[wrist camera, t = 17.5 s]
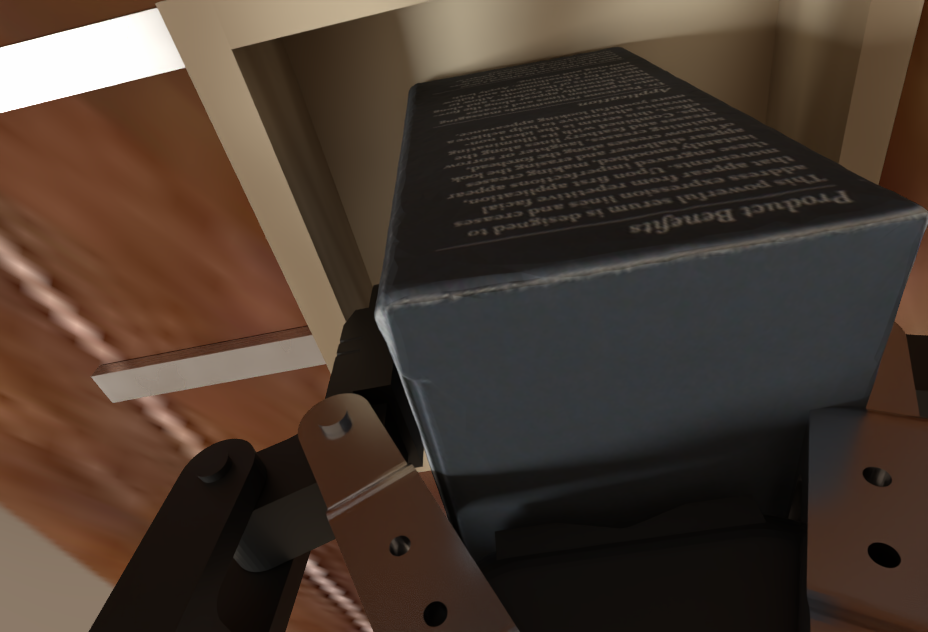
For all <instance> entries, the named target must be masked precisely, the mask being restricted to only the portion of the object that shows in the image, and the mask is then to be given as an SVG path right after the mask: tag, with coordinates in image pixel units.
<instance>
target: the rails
mask: <svg viewBox="0 0 928 632" xmlns="http://www.w3.org/2000/svg"><path fill="white" fill-rule="evenodd" d="M181 68H185V65H184V63H183V61H182V59H181V57H180V54H179V52H178V50H177V48H176V46H175V44H174V42H173V40H172V38H171V35H170V33H169V31H168V29H167V27H166V25H165V23H164V21H163V19H162V16H161V14H160V12H159V10H158V8H157V7H156V8H152V9H149V10H145V11H141V12H137V13H133V14H129V15H125V16H121V17H117V18H114V19H110V20H106V21H102V22H98V23H94V24H90V25H86V26H82V27H78V28H75V29H71V30H67V31H63V32H59V33H55V34H51V35H47V36H43V37H40V38H36V39H32V40H28V41H24V42H20V43H16V44H12V45H8V46H4V47H1V48H0V113H1V112H5V111H9V110H13V109H17V108H21V107H25V106H29V105H34V104H38V103H42V102H46V101H50V100H54V99H58V98H62V97H66V96H70V95H75V94H79V93H83V92H87V91H91V90H95V89H99V88H103V87H107V86H111V85H116V84H120V83H124V82H128V81H132V80H136V79H140V78H144V77H148V76H152V75H157V74H161V73H165V72H169V71H173V70H177V69H181ZM323 364H326V363H325V360H324V358H323V356H322V354H321V352H320V350H319V348H318V346H317V344H316V341H315V339H314V337H313V335H312V333H311V331H310V329H309V327H308V326H306V327H301V328H295V329H290V330H285V331H280V332H274V333H269V334H264V335H259V336H253V337H248V338H243V339H238V340H232V341H227V342H222V343H217V344H211V345H206V346H201V347H196V348H190V349H185V350H180V351H174V352H169V353H164V354H159V355H153V356H148V357H143V358H138V359H132V360H127V361H122V362H117V363H111V364H106V365H101V366H99V367H98V368H97V369H96V371H95V372H94V373H93V375H92V376H91V377H92V379H93V380H94V381H95V382H96V383H97V385H98V386H99V387H100V388H101V389H102V391H103V392H104V393H105V394H106V396H107V397H108V398H109V399H110V400H111V402H112V403H115V402H120V401H125V400H131V399H136V398H142V397H147V396H153V395H158V394H164V393H169V392H175V391H180V390H186V389H191V388H197V387H202V386H208V385H213V384H219V383H224V382H229V381H235V380H240V379H246V378H251V377H257V376H262V375H268V374H273V373H279V372H284V371H290V370H295V369H301V368H306V367H312V366H317V365H323Z"/></svg>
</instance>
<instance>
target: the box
mask: <svg viewBox="0 0 928 632" xmlns="http://www.w3.org/2000/svg"><path fill="white" fill-rule="evenodd" d="M404 122H405V123H404V131H403V139H402V144H401V152H400V156H399V162H398V168H397V178H396V184H395V190H394V197H393V201H392V210H391V216H390V222H389V228H388V234H387V241H386V248H385V257H384V260H383V268H382V273H381V278H380V282H379V289H378V295H377V301H376V306H375V311H374V318H375V321H376V323H377V326H378V328H379V330H380V332H381V334H382V336H383V338H384V339H385V341H386V343H387V346H388V348H389V351H390V354H391V356H392V359H393V361H394V363H395V366H396V368H397V371H398V373H399V376H400V380H401V383H402V385H403V388H404V391H405V393H406V396H407V399H408V401H409V404H410V407H411V410H412V413H413V416H414V418H415V421H416V424H417V426H418V429H419V433H420V436H421V440H422V444H423V447H424V450H425V453H426V456H427V459H428V463H429V465H430V468H431V471H432V474H433V477H434V479H435V482H436V485H437V488H438V491H439V494H440V497H441V499H442V502H443V505H444V508H445V511H446V514H447V518H448V520H449V522H450V523H451V525H452V527H453V528H454V530H455V531H456V533H457V534H458V536H459V538H460V539H461V541H462V542H463V544H464V545H465V547H466V549H467V550H468V552H469V553H470V555H471V556H472V558H473V559H474V561H477V560H479V559H480V558H482V557H484V556H486V555H488V554H490V553H492V552H495V551H496V544H495V531H501V530H508V529H515V528H521V527H528V526H535V525H542V524H549V523H566V524H577V525H588V526H598V527H609V528H627V527H630V526H633V525H635V524H638V523H640V522H643V521H645V520H648V519H650V518H652V517H655V516H657V515H660V514H662V513H665V512H667V511H670V510H672V509H674V508H677V507H679V506H682V505H684V504H687V503H694V502H701V501H708V500H715V499H722V498H729V497H736V496H743V495H749V494H752V496H753V498H754V500H755V502H756V503H757V505H758V507H759V509H760V511H761V513H762V514H764V515H772V516H778V517H783V518H786V514H787V509H788V505H789V500H790V496H791V492H792V487H793V483H794V478H795V474H796V469H797V465H798V460H799V456H800V451H801V447H802V442H803V438H804V433H805V429H806V425H807V420H808V415H809V411H810V410H812V409H818V408H825V407H833V406H854V407H861V408H866V406H867V403H868V400H869V397H870V395H871V391H872V388H873V385H874V382H875V379H876V376H877V372H878V369H879V365H880V362H881V359H882V356H883V353H884V350H885V347H886V344H887V341H888V338H889V335H890V333H891V330H892V327H893V324H894V320H895V317H896V314H897V311H898V307H899V304H900V301H901V298H902V295H903V291H904V289H905V286H906V283H907V280H908V278H909V275H910V272H911V269H912V267H913V264H914V261H915V258H916V255H917V252H918V249H919V246H920V243H921V240H922V237H923V235H924V232H925V230H926V227H927V224H928V211H927V210H926V209H925V208H923V207H922V206H920V205H918V204H916V203H914V202H912V201H910V200H908V199H907V198H905V197H903V196H901V195H899V194H897V193H895V192H893V191H891V190H888V189H886V188H883V187H881V186H879V185H877V184H875V183H873V182H871V181H869V180H867V179H865V178H863V177H861V176H859V175H857V174H855V173H853V172H852V171H850V170H848V169H846V168H845V167H843V166H842V165H840V164H838V163H836V162H834V161H832V160H830V159H828V158H826V157H824V156H822V155H820V154H818V153H817V152H815V151H813V150H811V149H809V148H808V147H806V146H804V145H803V144H801V143H799V142H797V141H795V140H793V139H791V138H789V137H787V136H786V135H784V134H782V133H781V132H779V131H777V130H775V129H773V128H771V127H769V126H766V125H765V124H763V123H761V122H760V121H758V120H756V119H755V118H753V117H751V116H749V115H747V114H745V113H743V112H742V111H740V110H738V109H736V108H733V107H731V106H730V105H728V104H726V103H725V102H723V101H721V100H719V99H717V98H715V97H714V96H712V95H710V94H708V93H706V92H704V91H702V90H700V89H698V88H696V87H695V86H693V85H691V84H690V83H688V82H686V81H684V80H682V79H680V78H678V77H675V76H674V75H672V74H671V73H669V72H668V71H665V70H663V69H662V68H660V67H658V66H656V65H654V64H652V63H651V62H649V61H647V60H646V59H644V58H642V57H640V56H638V55H636V54H634V53H632V52H630V51H628V50H626V49H624V48H622V47H612V48H607V49H602V50H598V51H593V52H588V53H580V54H576V55H572V56H564V57H559V58H555V59H551V60H542V61H537V62H532V63H527V64H522V65H516V66H511V67H506V68H500V69H494V70H489V71H484V72H478V73H472V74H467V75H462V76H456V77H451V78H445V79H439V80H433V81H429V82H423V83H417V84H415V85H414V86H412V87H411V88H410V90H409V93H408V101H407V110H406V117H405V121H404Z"/></svg>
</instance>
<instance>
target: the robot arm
mask: <svg viewBox="0 0 928 632" xmlns="http://www.w3.org/2000/svg"><path fill="white" fill-rule="evenodd" d="M378 289H379V284H376V285H374V286H373V288H372V293H371V298H370V303H369V308H364V309H358V310H355V311H354V313H353V314H352V315H351V316H350V318H349V319H348V320H347V321H346V323H345V324H344V325H343V329H342V333H341V337H340V344H339V345H338V349H337V353H336V354H337V357H335V361H334V365H333V369H332V373H331V377H330V381H329V385H328V389H327V393H326V397H325V399H324V400H322V401H321V402H319V403H317V404H316V405H315V406H313V407H312V408H311V409H310V410H309V411H308V412H307V413H306V414H305V415H304V417H303V418H302V420H301V422H300V424H299V428H298V434H296V435H295V436H293V437H291V438H289V439H287V440H285V441H282V442H280V443H277V444H275V445H273V446H270V447H268V448H266V449H263V450H261V451H259V452H256V451H255V450H254V448H253V447H252V445H251V444H250V443H249V442H247V441H245V440H242V439H228V440H224V441H220V442H218V443H215V444H213V445H211V446H209V447H207V448H206V449H204V450H203V451H201V452H200V453H199V454H197V455H196V456H195V457H194V458H193V459H192V460H191V461H190V462H189V463H188V464H187V465H186V466H185V468H184V469H183V471H182V472H181V474H180V476H179V477H178V479H177V481H176V483H175V484H174V486H173V488H172V489H171V491H170V493H169V495H168V496H167V498H166V500H165V501H164V503H163V505H162V507H161V508H160V510H159V512H158V513H157V515H156V517H155V519H154V520H153V522H152V524H151V525H150V527H149V529H148V531H147V532H146V534H145V536H144V538H143V539H142V541H141V543H140V544H139V546H138V548H137V550H136V551H135V553H134V555H133V556H132V558H131V560H130V562H129V563H128V565H127V567H126V568H125V570H124V572H123V574H122V575H121V577H120V579H119V580H118V582H117V584H116V586H115V587H114V589H113V591H112V592H111V594H110V596H109V598H108V599H107V601H106V603H105V605H104V607H103V608H102V610H101V611H100V613H99V615H98V617H97V618H96V620H95V622H94V624H93V625H92V627H91V629H90V630H89V632H285V631H286V628H287V625H288V621H289V618H290V615H291V612H292V609H293V606H294V602H295V599H296V596H297V593H298V590H299V586H300V583H301V580H302V577H303V574H304V571H305V567H306V564H307V561H308V558H309V555H310V551H311V550H313V549H315V548H317V547H319V546H321V545H323V544H325V543H328V542H330V541H332V540H334V539H336V541H337V543H338V546H339V548H340V550H341V553H342V555H343V558H344V560H345V563H346V565H347V568H348V570H349V573H350V575H351V578H352V580H353V582H354V585H355V587H356V590H357V592H358V595H359V597H360V600H361V602H362V605H363V607H364V609H365V612H366V614H367V617H368V619H369V622H370V624H371V627H372V629H373V632H928V336H926V335H908V334H905V332H904V331H903V329H902V328H901V327H900V326H899V325H898V324H897V323H896V322H894V324H893V327H892V330H891V333H890V335H889V338H888V341H887V344H886V347H885V350H884V353H883V356H882V359H881V362H880V365H879V369H878V372H877V376H876V379H875V382H874V385H873V388H872V391H871V395H870V397H869V400H868V403H867V406H866V408H861V407H854V406H833V407H825V408H818V409H812V410H810V411H809V415H808V420H807V425H806V429H805V433H804V438H803V442H802V447H801V451H800V456H799V460H798V465H797V469H796V474H795V478H794V483H793V487H792V492H791V496H790V500H789V505H788V509H787V514H786V518H783V517H778V516H772V515H764V514H762V513H761V511H760V509H759V507H758V505H757V503H756V502H755V500H754V498H753V496H752V494H749V495H743V496H736V497H729V498H722V499H715V500H708V501H701V502H694V503H687V504H684V505H682V506H679V507H677V508H674V509H672V510H670V511H667V512H665V513H662V514H660V515H657V516H655V517H652V518H650V519H648V520H645V521H643V522H640V523H638V524H635V525H633V526H630V527H627V528H609V527H598V526H588V525H577V524H566V523H549V524H542V525H535V526H528V527H521V528H515V529H508V530H501V531H495V544H496V551H495V552H492V553H490V554H488V555H486V556H484V557H482V558H480V559H479V560H477V561H474V559H473V558H472V556H471V555H470V553H469V552H468V550H467V549H466V547H465V545H464V544H463V542H462V541H461V539H460V538H459V536H458V534H457V533H456V531H455V530H454V528H453V527H452V525H451V523H450V522H449V520H448V519H447V517H446V516H445V514H444V513H443V511H442V509H441V508H440V506H439V505H438V503H437V502H436V500H435V498H434V497H433V495H432V494H431V492H430V491H429V489H428V488H427V486H426V484H425V483H424V481H423V480H422V478H421V477H420V475H419V473H418V472H417V470H416V469H415V468H418V467H423V453H424V447H423V444H422V440H421V436H420V433H419V429H418V426H417V424H416V421H415V418H414V416H413V413H412V410H411V407H410V404H409V401H408V399H407V396H406V393H405V391H404V388H403V385H402V383H401V380H400V376H399V373H398V371H397V368H396V366H395V363H394V361H393V359H392V356H391V354H390V351H389V348H388V346H387V343H386V341H385V339H384V338H383V336H382V334H381V332H380V330H379V328H378V326H377V323H376V321H375V318H374V311H375V306H376V301H377V295H378Z"/></svg>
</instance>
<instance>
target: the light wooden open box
mask: <svg viewBox="0 0 928 632" xmlns="http://www.w3.org/2000/svg"><path fill="white" fill-rule="evenodd" d="M155 4H156V6H157V8H158V10H159V12H160V14H161V16H162V19H163V21H164V23H165V25H166V27H167V29H168V31H169V33H170V35H171V38H172V40H173V42H174V44H175V46H176V48H177V50H178V52H179V54H180V57H181V59H182V61H183V63H184V65H185V67H186V69H187V71H188V73H189V76H190V78H191V80H192V82H193V84H194V86H195V88H196V90H197V92H198V95H199V97H200V99H201V101H202V103H203V105H204V107H205V109H206V111H207V114H208V116H209V118H210V120H211V122H212V124H213V126H214V128H215V130H216V133H217V135H218V137H219V139H220V141H221V143H222V145H223V147H224V149H225V152H226V154H227V156H228V158H229V160H230V162H231V164H232V166H233V168H234V171H235V173H236V175H237V177H238V179H239V181H240V183H241V185H242V187H243V190H244V192H245V194H246V196H247V198H248V200H249V202H250V204H251V206H252V209H253V211H254V213H255V215H256V217H257V219H258V221H259V223H260V225H261V228H262V230H263V232H264V234H265V236H266V238H267V240H268V242H269V244H270V247H271V249H272V251H273V253H274V255H275V257H276V259H277V261H278V263H279V265H280V268H281V270H282V272H283V274H284V276H285V278H286V280H287V282H288V284H289V287H290V289H291V291H292V293H293V295H294V297H295V299H296V301H297V303H298V306H299V308H300V310H301V312H302V314H303V316H304V318H305V320H306V322H307V325H308V327H309V329H310V331H311V333H312V335H313V337H314V339H315V341H316V344H317V346H318V348H319V350H320V352H321V354H322V356H323V358H324V360H325V363H326V365H327V367H328V369H329V371H330V373H332V369H333V365H334V361H335V357H337V354H336V353H337V349H338V345H339V344H340V337H341V333H342V329H343V325H344V324H345V323H346V321H347V320H348V319H349V318H350V316H351V315H352V314H353V313H354V311H355V310H358V309H364V308H369V303H370V298H371V293H372V288H373V286H374V285H376V284H379V282H380V278H381V273H382V268H383V260H384V257H385V248H386V241H387V234H388V228H389V222H390V216H391V210H392V201H393V197H394V190H395V184H396V178H397V168H398V162H399V156H400V152H401V144H402V139H403V131H404V123H405V122H404V121H405V117H406V110H407V101H408V93H409V90H410V88H411V87H412V86H414V85H415V84H417V83H423V82H429V81H433V80H439V79H445V78H451V77H456V76H462V75H467V74H472V73H478V72H484V71H489V70H494V69H500V68H506V67H511V66H516V65H522V64H527V63H532V62H537V61H542V60H551V59H555V58H559V57H564V56H572V55H576V54H580V53H588V52H593V51H598V50H602V49H607V48H612V47H622V48H624V49H626V50H628V51H630V52H632V53H634V54H636V55H638V56H640V57H642V58H644V59H646V60H647V61H649V62H651V63H652V64H654V65H656V66H658V67H660V68H662V69H663V70H665V71H668V72H669V73H671V74H672V75H674V76H675V77H678V78H680V79H682V80H684V81H686V82H688V83H690V84H691V85H693V86H695V87H696V88H698V89H700V90H702V91H704V92H706V93H708V94H710V95H712V96H714V97H715V98H717V99H719V100H721V101H723V102H725V103H726V104H728V105H730V106H731V107H733V108H736V109H738V110H740V111H742V112H743V113H745V114H747V115H749V116H751V117H753V118H755V119H756V120H758V121H760V122H761V123H763V124H765V125H766V126H769V127H771V128H773V129H775V130H777V131H779V132H781V133H782V134H784V135H786V136H787V137H789V138H791V139H793V140H795V141H797V142H799V143H801V144H803V145H804V146H806V147H808V148H809V149H811V150H813V151H815V152H817V153H818V154H820V155H822V156H824V157H826V158H828V159H830V160H832V161H834V162H836V163H838V164H840V165H842V166H843V167H845V168H846V169H848V170H850V171H852V172H853V173H855V174H857V175H859V176H861V177H863V178H865V179H867V180H869V181H871V182H873V183H875V184H877V185H879V181H880V177H881V173H882V169H883V165H884V161H885V156H886V152H887V148H888V144H889V140H890V136H891V132H892V128H893V124H894V120H895V116H896V112H897V108H898V104H899V100H900V96H901V92H902V88H903V84H904V80H905V76H906V72H907V68H908V64H909V60H910V56H911V52H912V48H913V44H914V40H915V36H916V32H917V28H918V24H919V20H920V16H921V12H922V8H923V4H924V0H165V1H161V2H158V3H155ZM415 469H416V470H417V472H423V471H429V470H431V468H430V465H429V463H428V459H427V456H426V453H425V450H424V453H423V467H418V468H415Z"/></svg>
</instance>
